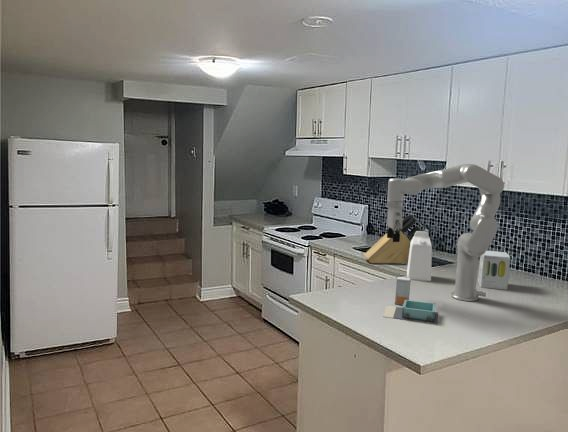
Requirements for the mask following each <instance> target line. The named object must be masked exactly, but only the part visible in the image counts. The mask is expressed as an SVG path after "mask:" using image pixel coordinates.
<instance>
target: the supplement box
mask: <svg viewBox="0 0 568 432" xmlns="http://www.w3.org/2000/svg"><path fill="white" fill-rule="evenodd" d="M510 264H511V256H510V255H509V254H508V253H507V252H505V251H496V250H487V251H486V252H485V253H484V254H483V255H482V256H480V257H479V262H478V272H477V282H478V284H479V286H480V288H483V289H484V288H486V289H494V290H495V289H496V290H505V291H507V290H508V284H509V278H510V277H509V275H510V266H511V265H510Z"/></svg>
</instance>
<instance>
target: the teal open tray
mask: <svg viewBox="0 0 568 432" xmlns="http://www.w3.org/2000/svg"><path fill="white" fill-rule="evenodd" d="M402 308H403V309H402V317H405V318H406V319H408V318H413V319H420V320H427V321H428V322H430V321H434V317H435V312H436V303H434V302H427V301H419V300H412V299H409V300H404V304H403V305H402Z"/></svg>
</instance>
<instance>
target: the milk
mask: <svg viewBox="0 0 568 432" xmlns="http://www.w3.org/2000/svg"><path fill="white" fill-rule="evenodd" d="M414 234H415V235H414V237H413V236H412V237H413V238H412V237H411V238H412V240H411V243H410V248H409V257H408V264H407V268H406V269H407V270H406V276H407V277H406V278H411V281H422V282H423V281H425V282H432V262H433V260H432V257H433V256H432V255H433V254H432V253H433V245H432V241H431V238H430V236H429V233H428V231H424V232H423V231H418V230H417V231H416V232H415V233H414Z"/></svg>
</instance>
